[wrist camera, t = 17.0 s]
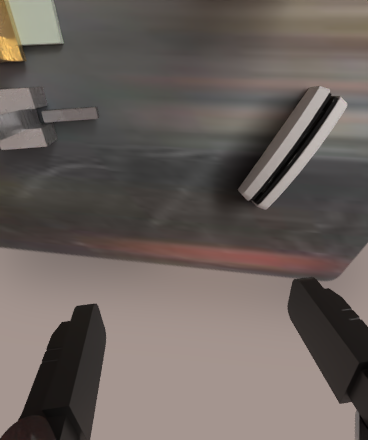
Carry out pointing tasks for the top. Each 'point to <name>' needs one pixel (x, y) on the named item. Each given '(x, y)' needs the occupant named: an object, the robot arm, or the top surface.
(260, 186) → the white arched piece
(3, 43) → the square loop paddle
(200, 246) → the top surface
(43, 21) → the mat
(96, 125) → the top surface
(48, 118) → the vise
